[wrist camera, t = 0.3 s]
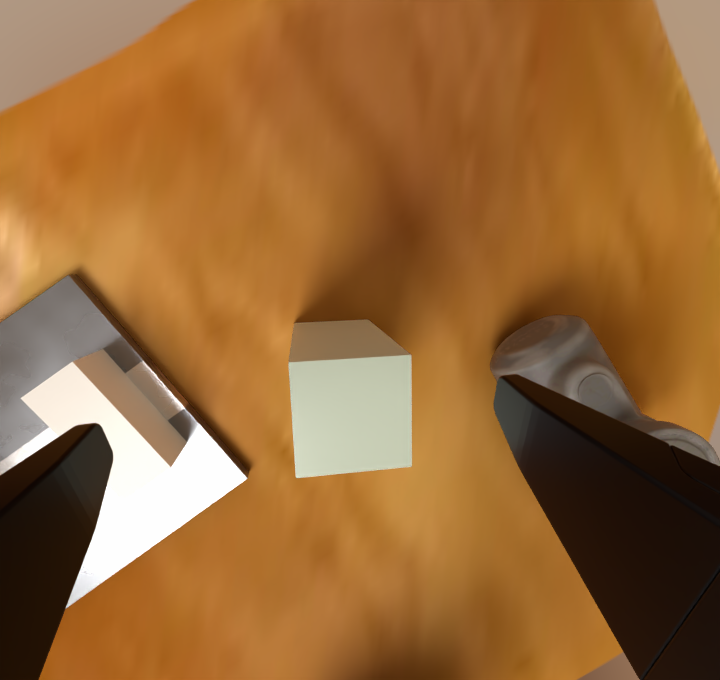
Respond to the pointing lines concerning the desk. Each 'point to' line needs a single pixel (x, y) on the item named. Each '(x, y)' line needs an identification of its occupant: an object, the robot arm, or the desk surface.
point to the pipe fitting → (584, 376)
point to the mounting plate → (102, 331)
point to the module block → (349, 399)
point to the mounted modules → (110, 419)
